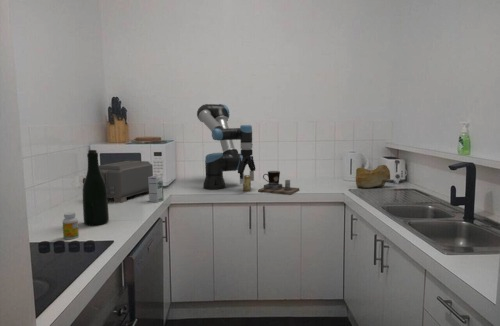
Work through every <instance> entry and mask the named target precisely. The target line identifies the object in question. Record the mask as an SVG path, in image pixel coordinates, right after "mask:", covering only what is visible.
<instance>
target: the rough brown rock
mask: <svg viewBox="0 0 500 326" xmlns="http://www.w3.org/2000/svg"><path fill="white" fill-rule="evenodd" d="M389 180H391V171H390V168H389V167H388V166H387V165H385V164H381V165H378V166H377V167H376V168H374V169H371V170H369V169H367V168H365V167H357V168H356V170H355V184H356V186H357V188H360V189H364V188H366V189H370V188H371V189H372V188H374V187H377V188H384V186H385V184H386V183H387V182H388V181H389Z"/></svg>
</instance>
